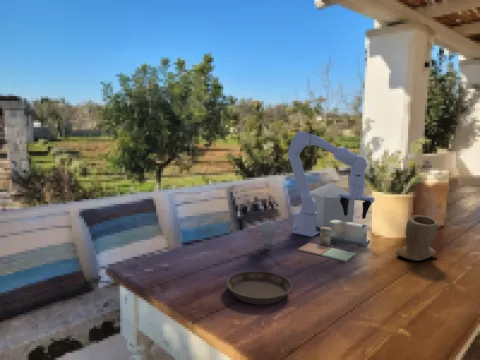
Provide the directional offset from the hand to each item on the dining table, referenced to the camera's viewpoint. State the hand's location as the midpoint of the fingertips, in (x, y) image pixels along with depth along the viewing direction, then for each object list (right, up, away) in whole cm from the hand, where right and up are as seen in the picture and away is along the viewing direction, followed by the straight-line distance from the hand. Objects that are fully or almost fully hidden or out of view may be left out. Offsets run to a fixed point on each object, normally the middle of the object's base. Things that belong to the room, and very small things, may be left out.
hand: (354, 216), depth 151 cm
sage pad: (-13, -12, -22) cm, 28 cm away
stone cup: (+15, -12, -23) cm, 30 cm away
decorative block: (-6, -6, +20) cm, 22 cm away
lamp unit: (-5, -9, -5) cm, 11 cm away
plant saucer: (-43, -16, -52) cm, 70 cm away
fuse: (-15, -10, -10) cm, 20 cm away
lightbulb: (-38, -11, -18) cm, 43 cm away
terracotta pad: (-20, -11, -17) cm, 28 cm away
